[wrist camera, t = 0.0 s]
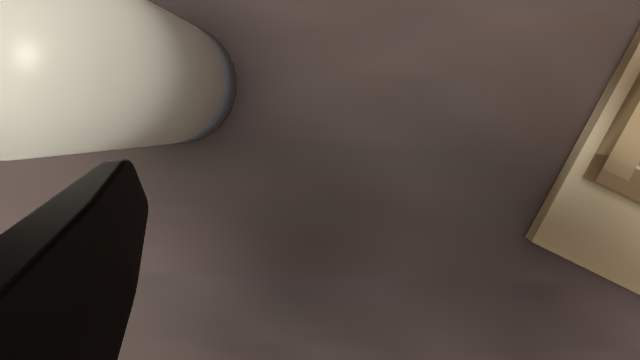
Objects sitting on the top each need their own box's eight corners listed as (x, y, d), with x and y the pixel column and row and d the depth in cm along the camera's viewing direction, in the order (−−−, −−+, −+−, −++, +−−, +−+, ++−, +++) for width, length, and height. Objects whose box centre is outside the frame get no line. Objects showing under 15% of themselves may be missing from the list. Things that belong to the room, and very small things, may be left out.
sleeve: (258, 99, 24) (149, 77, 13) (165, 165, 25) (-24, 203, 13) (192, 0, 24) (18, -117, 12) (99, 69, 25) (-151, 19, 13)
